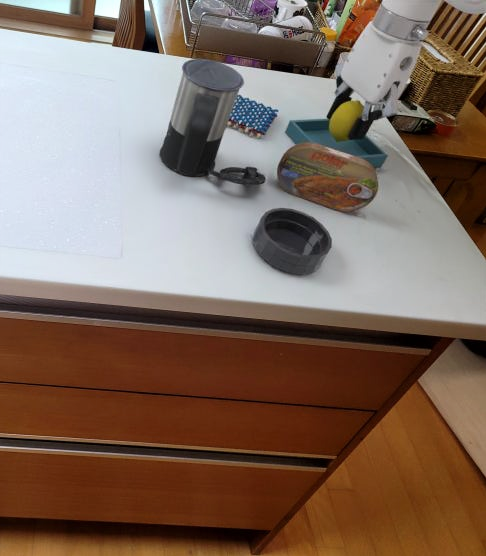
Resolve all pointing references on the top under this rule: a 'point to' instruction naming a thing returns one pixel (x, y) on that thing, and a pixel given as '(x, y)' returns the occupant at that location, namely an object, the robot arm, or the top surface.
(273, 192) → the top surface
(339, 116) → the lemon
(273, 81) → the top surface
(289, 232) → the bowl
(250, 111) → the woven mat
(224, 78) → the milk frother
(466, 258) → the top surface
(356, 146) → the tray
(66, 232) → the top surface
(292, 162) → the tin
